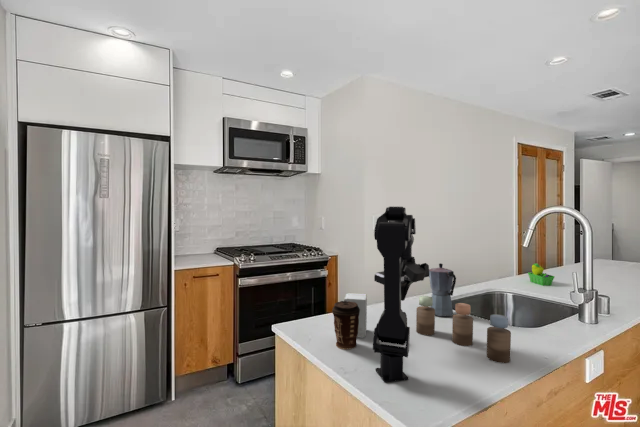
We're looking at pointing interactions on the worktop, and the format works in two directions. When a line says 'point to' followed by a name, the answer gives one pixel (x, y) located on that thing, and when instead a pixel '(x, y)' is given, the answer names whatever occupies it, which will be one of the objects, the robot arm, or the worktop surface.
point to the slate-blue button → (499, 321)
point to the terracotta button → (463, 308)
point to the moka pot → (442, 290)
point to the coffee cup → (346, 324)
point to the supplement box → (362, 304)
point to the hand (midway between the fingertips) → (402, 300)
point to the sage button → (425, 301)
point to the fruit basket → (540, 276)
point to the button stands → (467, 333)
